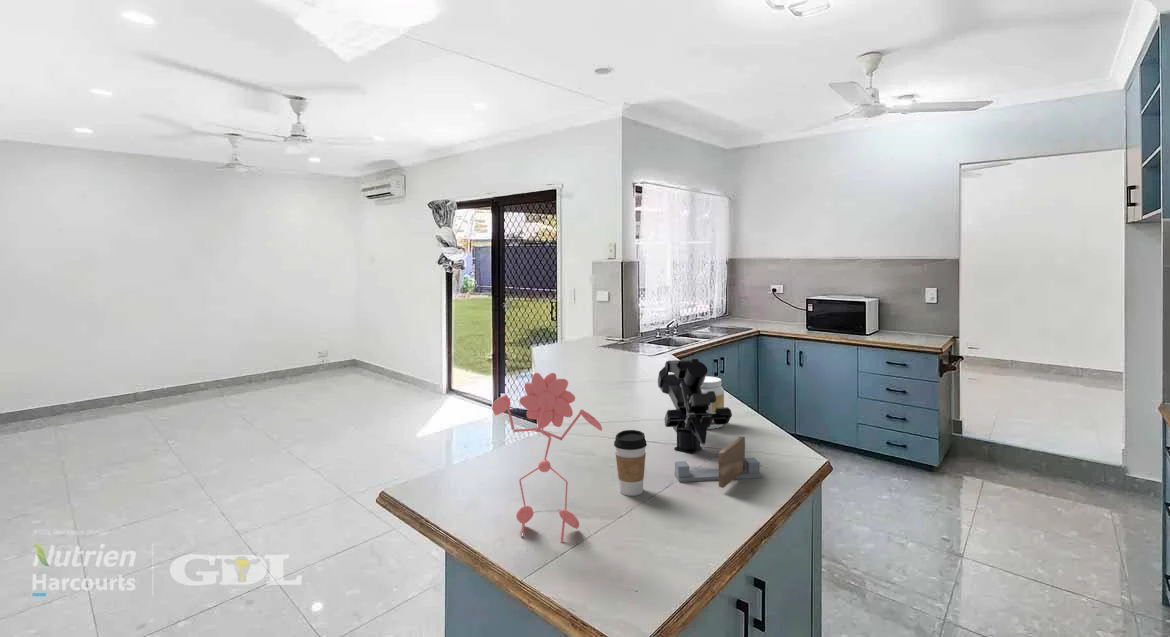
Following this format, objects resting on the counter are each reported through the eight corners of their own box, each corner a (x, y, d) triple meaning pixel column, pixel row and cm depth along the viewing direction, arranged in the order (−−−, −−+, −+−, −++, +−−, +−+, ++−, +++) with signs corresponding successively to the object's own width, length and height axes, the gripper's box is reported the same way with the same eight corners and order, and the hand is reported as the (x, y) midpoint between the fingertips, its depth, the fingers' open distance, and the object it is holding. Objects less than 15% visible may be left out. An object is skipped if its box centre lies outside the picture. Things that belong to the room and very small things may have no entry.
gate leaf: (718, 486, 137) (717, 452, 137) (740, 468, 150) (740, 436, 149) (724, 488, 136) (723, 453, 136) (745, 469, 149) (745, 437, 148)
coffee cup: (650, 486, 142) (649, 430, 141) (643, 499, 134) (642, 440, 133) (619, 483, 145) (618, 428, 144) (611, 496, 137) (609, 438, 136)
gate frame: (674, 475, 150) (674, 460, 150) (754, 470, 151) (754, 456, 151) (678, 482, 145) (678, 467, 145) (761, 477, 146) (761, 463, 146)
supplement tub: (688, 420, 203) (688, 375, 202) (722, 420, 201) (722, 375, 200) (690, 429, 191) (690, 382, 190) (726, 430, 189) (725, 382, 188)
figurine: (599, 548, 111) (595, 379, 109) (485, 535, 118) (479, 376, 116) (616, 517, 126) (613, 367, 124) (513, 506, 133) (508, 365, 131)
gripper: (666, 382, 156) (675, 431, 146) (729, 380, 157) (743, 428, 147) (660, 402, 164) (669, 450, 154) (721, 400, 166) (733, 447, 156)
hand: (703, 443), depth 153 cm, fingers closed
